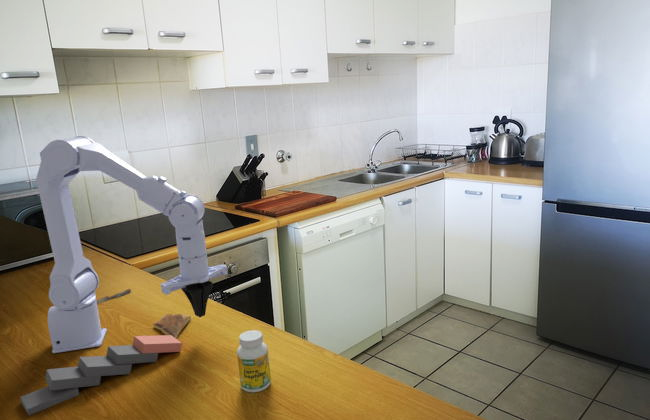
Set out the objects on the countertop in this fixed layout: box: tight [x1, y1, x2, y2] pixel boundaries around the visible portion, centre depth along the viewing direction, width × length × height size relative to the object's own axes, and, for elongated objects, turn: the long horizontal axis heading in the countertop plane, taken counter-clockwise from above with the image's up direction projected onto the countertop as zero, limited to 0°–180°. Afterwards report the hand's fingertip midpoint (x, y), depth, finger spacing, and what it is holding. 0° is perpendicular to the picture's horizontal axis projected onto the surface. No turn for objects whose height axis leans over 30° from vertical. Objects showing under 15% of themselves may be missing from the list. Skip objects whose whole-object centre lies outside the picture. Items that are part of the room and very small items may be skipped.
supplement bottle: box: [236, 329, 272, 393], centre depth 87 cm, size 5×5×10 cm
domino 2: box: [45, 366, 102, 391], centre depth 90 cm, size 2×5×8 cm
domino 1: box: [20, 385, 80, 416], centre depth 87 cm, size 2×5×8 cm
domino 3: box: [77, 355, 133, 377], centre depth 93 cm, size 2×5×8 cm
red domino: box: [132, 334, 183, 354], centre depth 100 cm, size 2×5×8 cm
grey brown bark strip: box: [96, 288, 132, 306], centre depth 130 cm, size 12×1×5 cm
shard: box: [152, 313, 192, 340], centre depth 111 cm, size 11×8×2 cm
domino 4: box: [106, 344, 159, 364], centre depth 96 cm, size 2×5×8 cm
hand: (200, 315), depth 106 cm, fingers closed
